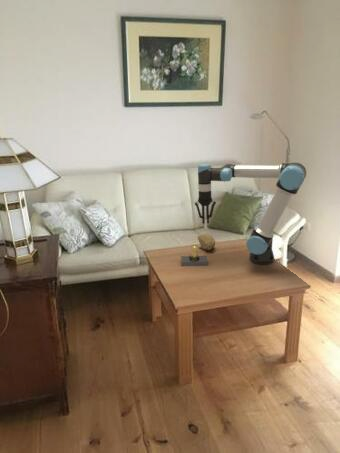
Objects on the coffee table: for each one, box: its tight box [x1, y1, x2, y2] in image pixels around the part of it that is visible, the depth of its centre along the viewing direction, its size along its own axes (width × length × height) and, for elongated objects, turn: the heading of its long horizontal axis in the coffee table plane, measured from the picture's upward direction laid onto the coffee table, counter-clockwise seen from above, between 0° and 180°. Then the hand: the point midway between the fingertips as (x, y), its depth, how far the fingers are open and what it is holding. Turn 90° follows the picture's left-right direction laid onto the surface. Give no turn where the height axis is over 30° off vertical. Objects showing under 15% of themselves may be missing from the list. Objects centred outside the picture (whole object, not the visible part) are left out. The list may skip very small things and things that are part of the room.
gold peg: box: [190, 244, 199, 261], centre depth 222 cm, size 4×4×11 cm
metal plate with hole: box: [180, 255, 209, 267], centre depth 223 cm, size 16×9×2 cm, turn 90°
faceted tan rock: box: [196, 233, 216, 251], centre depth 242 cm, size 15×11×12 cm
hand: (205, 228), depth 221 cm, fingers closed
